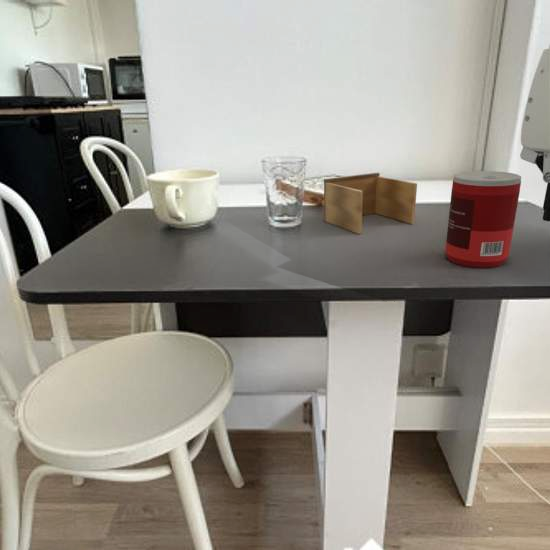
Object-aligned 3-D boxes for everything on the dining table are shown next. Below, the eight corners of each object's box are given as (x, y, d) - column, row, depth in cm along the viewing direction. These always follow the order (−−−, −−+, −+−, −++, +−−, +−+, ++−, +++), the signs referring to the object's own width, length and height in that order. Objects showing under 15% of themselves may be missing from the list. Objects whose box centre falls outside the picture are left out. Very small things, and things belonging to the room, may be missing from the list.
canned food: (516, 256, 59) (530, 173, 55) (494, 273, 53) (508, 182, 49) (459, 246, 64) (469, 169, 60) (434, 260, 58) (442, 177, 54)
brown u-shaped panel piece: (414, 223, 76) (417, 179, 73) (358, 234, 71) (360, 187, 69) (375, 212, 85) (377, 172, 82) (323, 220, 80) (323, 178, 78)
